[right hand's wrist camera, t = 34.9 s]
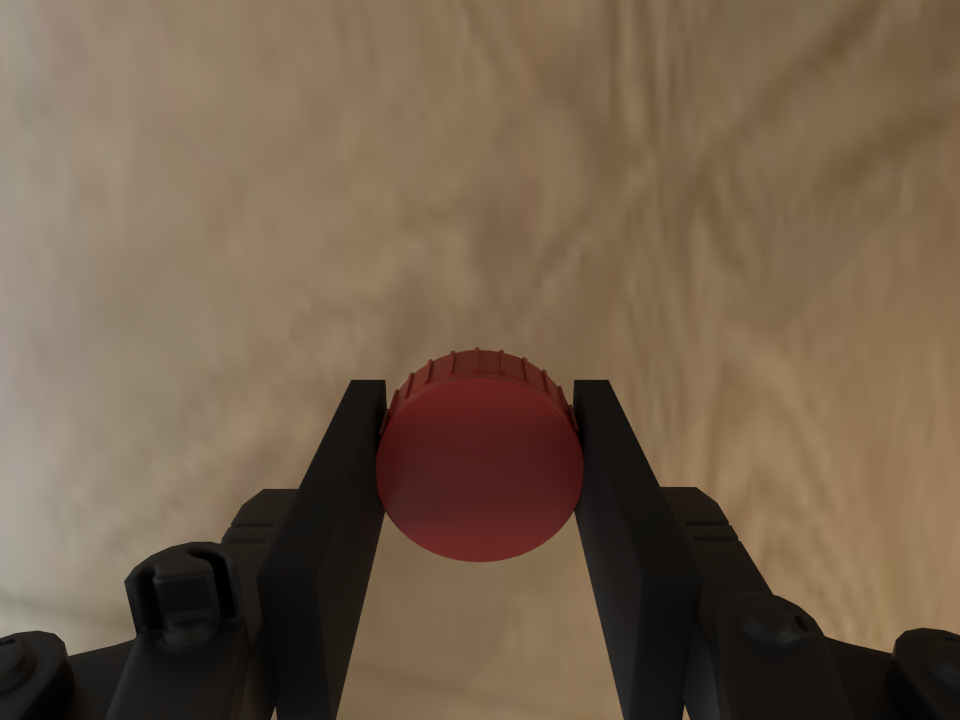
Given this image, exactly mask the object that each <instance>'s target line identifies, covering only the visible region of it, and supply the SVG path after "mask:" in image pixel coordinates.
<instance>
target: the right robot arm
mask: <svg viewBox="0 0 960 720" xmlns="http://www.w3.org/2000/svg"><path fill="white" fill-rule="evenodd" d="M386 409H387V401H386V384H385V380H351V382H350V384H349V386H348V388H347V390H346V392H345V394H344V396H343V398H342V400H341V402H340V404H339V406H338V408H337V410H336V413H335V415H334V417H333V419H332V421H331V423H330V425H329V427H328V429H327V431H326V433H325V435H324V437H323V439H322V441H321V444H320V446H319V448H318V450H317V452H316V454H315V456H314V458H313V460H312V462H311V464H310V466H309V468H308V470H307V472H306V475H305V477H304V479H303V481H302V483H301V485H300V487H299V489H263V490H262V491H260V492H259V493H258V494H256V495H255V496H254V497H253V498H251V499H250V500H249V501H247V502H246V503H245V504H243V505H242V507H241V508H240V510H239V512H238V513H237V515H236V517H235V518H234V520H233V522H232V523H231V528H228V530H227V531H226V533H225V535H224V536H223V538H222V543H219V544H217V543H214V542H190V543H186V544H181V545H177V546H172V547H169V548H167V549H165V550H163V551H160V552H158V553H156V554H154V555H151V556H150V557H148V558H147V559H146V560H144V561H143V562H142V563H140V564H139V565H137V566H136V567H135V568H134V569H133V570H132V572H131V573H130V574H129V576H128V577H127V578H126V580H125V581H124V583H125V587H126V592H127V596H128V600H129V604H130V608H131V612H132V617H133V621H134V625H135V629H136V633H137V635H136V638H135V639H133V640H131V641H127V642H124V643H121V644H118V645H114V646H110V647H106V648H102V649H97V650H93V651H89V652H84V653H80V654H76V655H72V656H68V654H67V650H66V647H65V643H64V642H63V641H62V640H61V639H60V638H59V637H58V636H57V635H56V634H53V633H48V632H43V631H30V632H21V633H15V634H12V635H9V636H6V637H3V638H0V720H271V717H272V714H273V711H274V708H275V707H276V714H277V720H336V716H337V712H338V708H339V704H340V699H341V695H342V691H343V687H344V683H345V678H346V674H347V670H348V666H349V662H350V657H351V653H352V649H353V645H354V641H355V636H356V632H357V628H358V624H359V619H360V615H361V611H362V607H363V603H364V598H365V594H366V590H367V586H368V582H369V577H370V573H371V569H372V565H373V561H374V556H375V552H376V548H377V544H378V540H379V535H380V531H381V527H382V523H383V519H384V514H385V509H384V507H383V505H382V503H381V501H380V498H379V495H378V489H377V475H376V451H377V448H378V444H379V441H380V438H381V437H379V436H378V434H379V431H380V428H381V424H382V421H383V418H384V415H385V412H386ZM573 411H574V414H575V417H576V421H577V424H578V427H579V430H580V432H578V437H579V440H580V443H581V446H582V450H583V455H584V468H583V483H582V493H581V496H580V499H579V501H578V503H577V506H576V508H575V510H574V512H575V516H576V520H577V524H578V529H579V533H580V537H581V541H582V546H583V550H584V554H585V558H586V562H587V567H588V571H589V575H590V579H591V583H592V588H593V592H594V596H595V600H596V604H597V609H598V613H599V617H600V621H601V625H602V630H603V634H604V638H605V642H606V646H607V651H608V655H609V659H610V663H611V668H612V672H613V676H614V680H615V684H616V689H617V693H618V697H619V701H620V705H621V710H622V714H623V718H624V720H682V717H683V711H684V704H685V706H686V709H687V712H688V715H689V718H690V720H960V635H957V634H954V633H951V632H948V631H945V630H937V629H929V628H919V629H914V630H908V631H905V632H904V633H903V634H902V635H901V636H900V637H899V638H898V639H896V642H895V645H894V648H893V652H892V654H891V653H887V652H883V651H878V650H874V649H870V648H865V647H861V646H857V645H853V644H848V643H844V642H841V641H838V640H835V639H831V638H828V637H826V636H824V634H823V632H822V631H821V629H820V628H819V626H818V624H817V623H816V621H815V620H814V618H812V617H811V616H810V615H809V614H807V613H806V612H805V611H804V610H803V609H801V608H800V607H799V606H798V605H796V604H794V603H792V602H790V601H788V600H786V599H783V598H781V597H779V596H776V595H773V593H772V592H771V590H770V588H769V587H768V585H767V583H766V582H765V580H764V579H763V577H762V575H761V574H760V572H759V570H758V569H757V567H756V565H755V564H754V562H753V561H752V559H751V557H750V556H749V554H748V552H747V551H746V549H745V547H744V546H743V544H742V543H741V541H738V536H737V534H736V533H735V531H734V530H733V528H732V526H731V525H729V521H728V520H727V518H726V516H725V515H724V513H723V512H722V510H721V508H720V507H719V505H718V503H717V502H715V501H714V500H713V499H711V498H710V497H709V496H707V495H706V494H705V493H703V492H702V491H701V490H699V489H698V488H697V487H660V486H659V484H658V482H657V480H656V478H655V475H654V473H653V471H652V469H651V467H650V465H649V463H648V461H647V459H646V457H645V455H644V453H643V451H642V449H641V447H640V444H639V442H638V440H637V438H636V436H635V434H634V432H633V430H632V428H631V426H630V424H629V422H628V420H627V418H626V416H625V413H624V411H623V409H622V407H621V405H620V403H619V401H618V399H617V397H616V395H615V393H614V391H613V389H612V387H611V385H610V382H609V380H574V394H573Z"/></svg>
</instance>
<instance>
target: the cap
mask: <svg viewBox="0 0 960 720" xmlns="http://www.w3.org/2000/svg"><path fill="white" fill-rule="evenodd" d="M578 432H580V430H579V427H578V424H577V421H576V417H575V414H574V411H573V408H572V405H568V403H567V401H566V399H565V396H564V393H563V390H562V387H561V386H558V387H557V385H556V384H555V383H554V382H553V381H552V380H551V379H550V378H549V377H548V376H547V372H546V371H545V370H544V369H543V370H542V371H541V370H540V369H539V368H537V367H535V366H534V365H533V364H530V363H529V362H527V358H525V357H523V358H522V359H520V358H518V357H516V356H512V355H509V354H506V353H504V350H500V351H499V352H495V351H486V350H479V348H475V350H470V351H463V352H458V353H455V351H451V354H450V355H447V356H444V357H441V358H439V359H436V360H435V361H433V360H432V359H431V360H429V361H428V364H427V365H425V366H424V367H423V368H421V369H420V370H418V371H417V372H416V373H415V374H413V373H412V372H411V373H410V374H409V378H408V380H407V381H406V382H405V384H404V385H403V386H402V387H401V388H400V390H397V389H396V391H395V393H394V396H393V399H392V403H391V406H390V409H386V412H385V415H384V418H383V421H382V424H381V428H380V431H379V434H378V436H379V437H381V438H380V441H379V444H378V448H377V451H376V475H377V489H378V495H379V498H380V501H381V503H382V505H383V507H384V509H385V511H386V513H387V514H388V516H389V517H390V519H391V520H392V522H393V523H394V524H395V525H396V526H397V527H398V528H399V530H400V531H401V532H402V533H404V534H405V535H406V536H407V537H408V538H409V539H411V540H412V541H414V542H415V543H417V544H418V545H419V546H421V547H423V548H425V549H427V550H429V551H431V552H433V553H436V554H438V555H441V556H443V557H447V558H451V559H455V560H461V561H468V562H490V561H499V560H504V559H509V558H512V557H515V556H519V555H521V554H524V553H526V552H528V551H531V550H533V549H534V548H536V547H538V546H540V545H541V544H543V543H544V542H546V541H547V540H548V539H550V538H551V537H552V536H554V535H555V534H556V533H557V532H558V531H559V530H560V529H561V528H562V527H563V525H564V524H565V523H566V522H567V520H568V519H569V518H570V516H571V515H572V513H573V511H574V510H575V508H576V506H577V503H578V501H579V499H580V496H581V493H582V483H583V468H584V455H583V450H582V446H581V443H580V440H579V437H578Z"/></svg>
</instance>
